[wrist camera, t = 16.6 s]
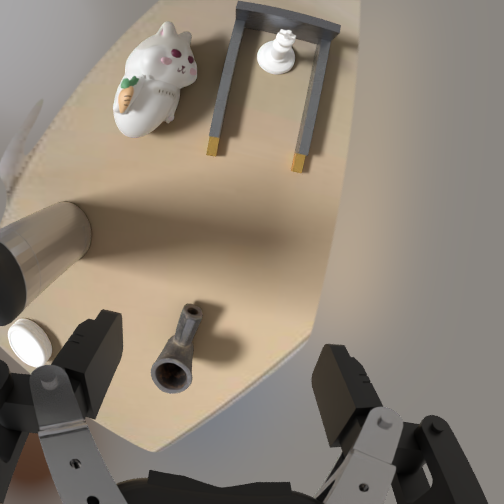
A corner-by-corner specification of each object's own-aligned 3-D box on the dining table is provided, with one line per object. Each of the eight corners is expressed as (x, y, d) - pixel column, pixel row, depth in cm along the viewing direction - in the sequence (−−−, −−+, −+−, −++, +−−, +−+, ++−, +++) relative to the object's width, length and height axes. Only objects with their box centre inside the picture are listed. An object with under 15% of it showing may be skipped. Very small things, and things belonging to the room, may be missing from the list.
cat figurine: (113, 145, 27) (171, 12, 21) (82, 124, 30) (129, 11, 24) (173, 150, 35) (223, 43, 29) (138, 130, 38) (180, 35, 32)
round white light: (44, 365, 48) (37, 375, 45) (11, 334, 46) (2, 343, 42) (59, 342, 46) (51, 353, 43) (22, 307, 44) (13, 317, 40)
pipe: (212, 307, 45) (209, 339, 37) (190, 366, 49) (184, 399, 41) (174, 294, 44) (163, 324, 36) (156, 355, 47) (146, 387, 40)
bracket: (207, 154, 37) (202, 156, 31) (237, 19, 31) (238, 0, 25) (299, 172, 38) (310, 177, 33) (326, 39, 32) (340, 25, 26)
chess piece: (266, 36, 32) (276, 5, 22) (300, 51, 33) (320, 25, 23) (250, 65, 33) (255, 40, 24) (285, 80, 34) (301, 60, 25)
